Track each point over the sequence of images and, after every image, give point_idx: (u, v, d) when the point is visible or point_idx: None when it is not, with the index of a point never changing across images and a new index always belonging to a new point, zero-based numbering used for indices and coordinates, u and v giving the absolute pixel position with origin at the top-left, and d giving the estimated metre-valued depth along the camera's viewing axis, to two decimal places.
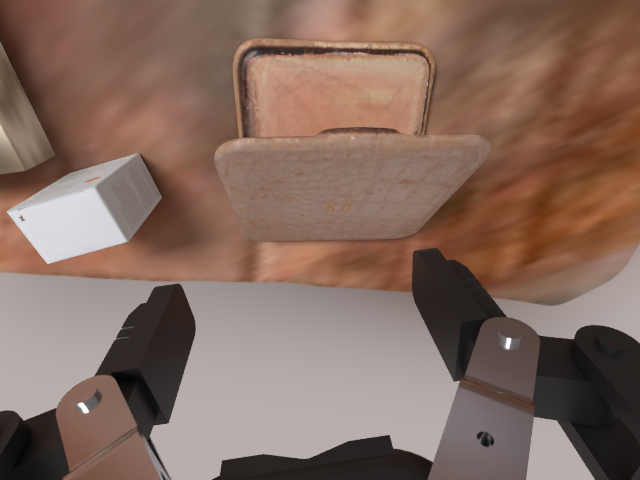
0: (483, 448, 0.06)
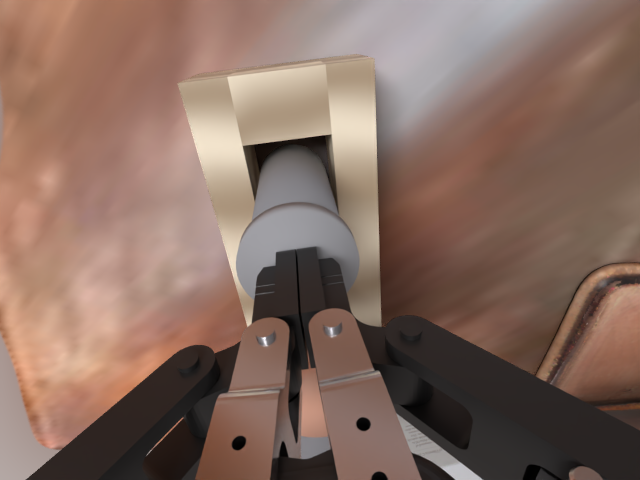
0: (365, 433, 0.06)
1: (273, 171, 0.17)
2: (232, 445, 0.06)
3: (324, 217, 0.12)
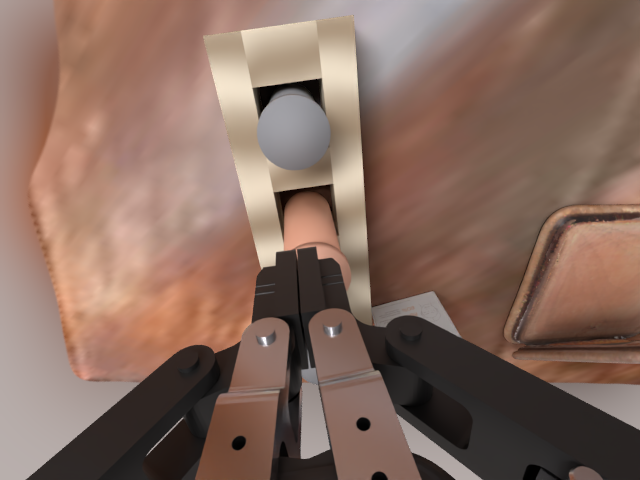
0: (365, 433, 0.06)
1: (278, 92, 0.26)
2: (232, 446, 0.06)
3: (308, 100, 0.21)
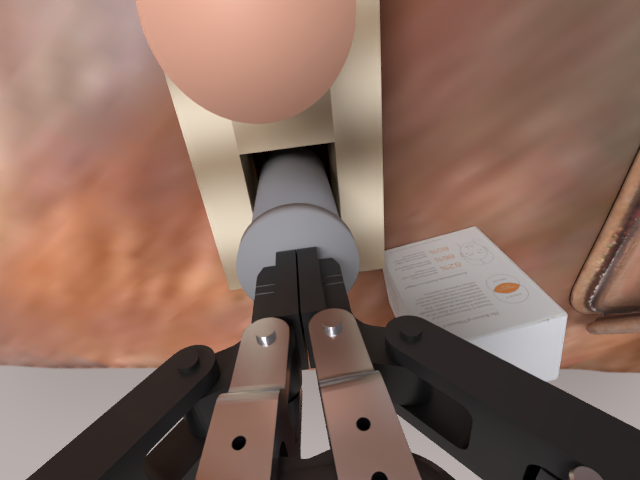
0: (365, 433, 0.06)
1: None
2: (232, 446, 0.06)
3: None
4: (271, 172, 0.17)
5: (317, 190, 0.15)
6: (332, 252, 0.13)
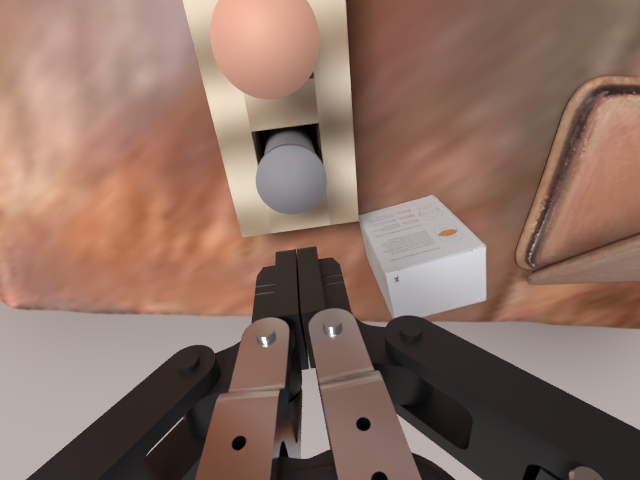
0: (365, 433, 0.06)
1: None
2: (232, 445, 0.06)
3: None
4: (274, 134, 0.27)
5: (303, 141, 0.25)
6: (310, 172, 0.23)
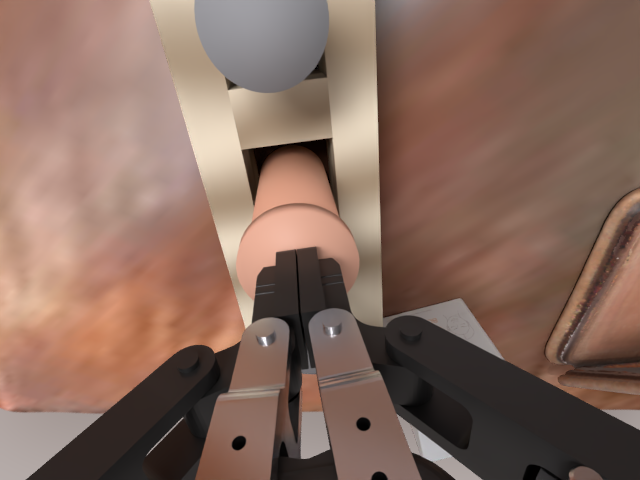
0: (365, 433, 0.06)
1: None
2: (232, 445, 0.06)
3: None
4: None
5: None
6: None
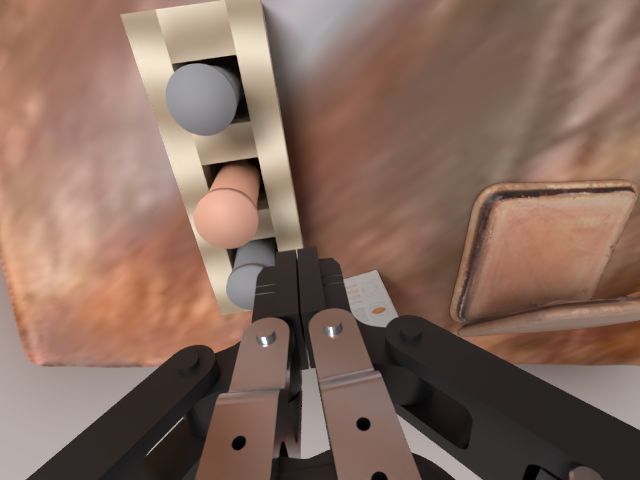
0: (365, 434, 0.06)
1: None
2: (232, 445, 0.06)
3: (210, 68, 0.23)
4: None
5: (263, 253, 0.34)
6: None
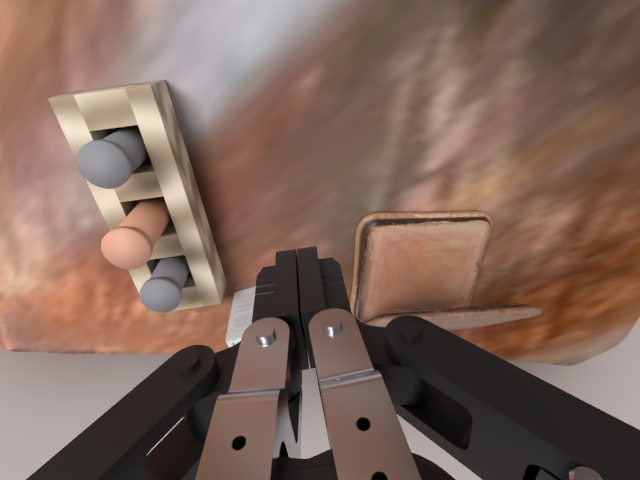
0: (366, 433, 0.06)
1: (113, 133, 0.38)
2: (232, 446, 0.06)
3: (107, 144, 0.32)
4: (162, 258, 0.46)
5: (173, 268, 0.44)
6: (169, 292, 0.41)
